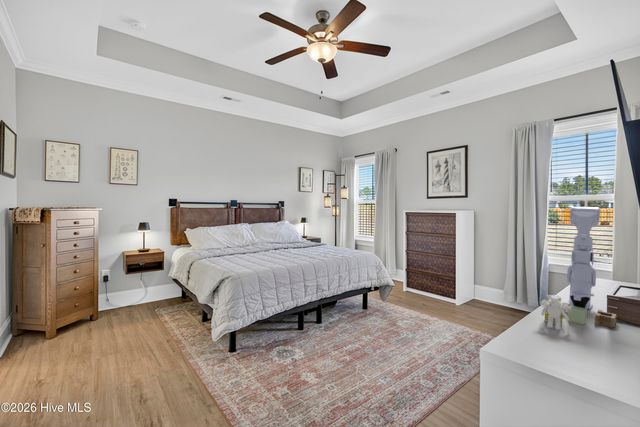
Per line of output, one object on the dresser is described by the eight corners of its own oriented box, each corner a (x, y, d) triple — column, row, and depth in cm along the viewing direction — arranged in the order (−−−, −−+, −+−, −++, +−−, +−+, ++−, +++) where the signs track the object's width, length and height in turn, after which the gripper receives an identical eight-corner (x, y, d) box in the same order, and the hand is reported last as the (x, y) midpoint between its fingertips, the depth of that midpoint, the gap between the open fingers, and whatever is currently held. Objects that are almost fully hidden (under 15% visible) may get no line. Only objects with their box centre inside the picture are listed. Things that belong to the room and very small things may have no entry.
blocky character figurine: (537, 325, 114) (539, 292, 114) (540, 322, 117) (542, 291, 116) (568, 333, 107) (570, 299, 107) (570, 330, 110) (572, 296, 110)
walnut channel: (562, 310, 131) (562, 301, 131) (616, 322, 119) (616, 312, 119) (557, 316, 124) (558, 306, 124) (613, 329, 112) (614, 318, 112)
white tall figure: (556, 319, 120) (557, 294, 120) (565, 325, 115) (567, 299, 115) (541, 318, 121) (542, 294, 121) (550, 324, 116) (551, 298, 115)
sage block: (570, 317, 123) (570, 305, 123) (586, 321, 119) (587, 308, 119) (567, 320, 119) (568, 308, 119) (584, 324, 116) (585, 311, 115)
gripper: (592, 286, 114) (590, 322, 114) (596, 279, 123) (594, 313, 124) (567, 282, 119) (565, 317, 119) (574, 276, 129) (572, 309, 129)
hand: (579, 315), depth 122 cm, fingers closed
